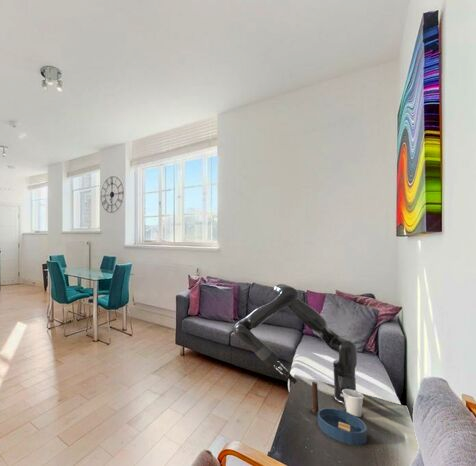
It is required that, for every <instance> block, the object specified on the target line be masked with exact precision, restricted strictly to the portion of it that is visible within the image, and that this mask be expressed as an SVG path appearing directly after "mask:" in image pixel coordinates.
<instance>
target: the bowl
mask: <svg viewBox="0 0 476 466" xmlns="http://www.w3.org/2000/svg"><path fill="white" fill-rule="evenodd" d="M316 415H317V425H318V428H319V429H320V430H321V432H323V433H324V434H325V435H327V437H329V438H332V439H333V440H336V441H338V442H340V443H343V444H348V445H350V446H351V445H352V446H353V445H354V446H360V445H365V444H366V443H367V442H368V425H366V423H365V422H364V420H362V419H361V418H360V417H359V416H355V415H353V414H350V413H348V412H346V410H342V409H338V408H334V407H324V408H320V409H319V411H318V413H317V414H316ZM339 422H342V423H345V424H348V425H350V431H351V432H349V431H345V430H341V429H339V428H338V426H339Z"/></svg>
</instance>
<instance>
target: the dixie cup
mask: <svg viewBox="0 0 476 466" xmlns="http://www.w3.org/2000/svg"><path fill="white" fill-rule="evenodd" d="M342 392H343V396H344V401H345V405H344V406H345V411H346V412H348V413H350V414H353V415H355V416H356V417H358V418H361V417H362V413H363V404H364V403H363V402H364V398H365V396H364V395H363V393H361V392H359V391H358V390H356V391H355V390H351V389H344V390H342Z"/></svg>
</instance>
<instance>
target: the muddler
mask: <svg viewBox="0 0 476 466" xmlns="http://www.w3.org/2000/svg"><path fill="white" fill-rule="evenodd" d="M311 390H312V391H311V392H312V393H311V394H312V408H311V412H312V413H313V414H315V415H318V414H317V413H318V411H319V410H320V409H319V391H318V382H317V381H312V382H311Z"/></svg>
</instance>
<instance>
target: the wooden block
mask: <svg viewBox="0 0 476 466" xmlns="http://www.w3.org/2000/svg"><path fill="white" fill-rule="evenodd" d="M338 428H339V429H341V430H345V431H349V432H351V431H350V425H348V424H345V423H342V422H339V426H338Z"/></svg>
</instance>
